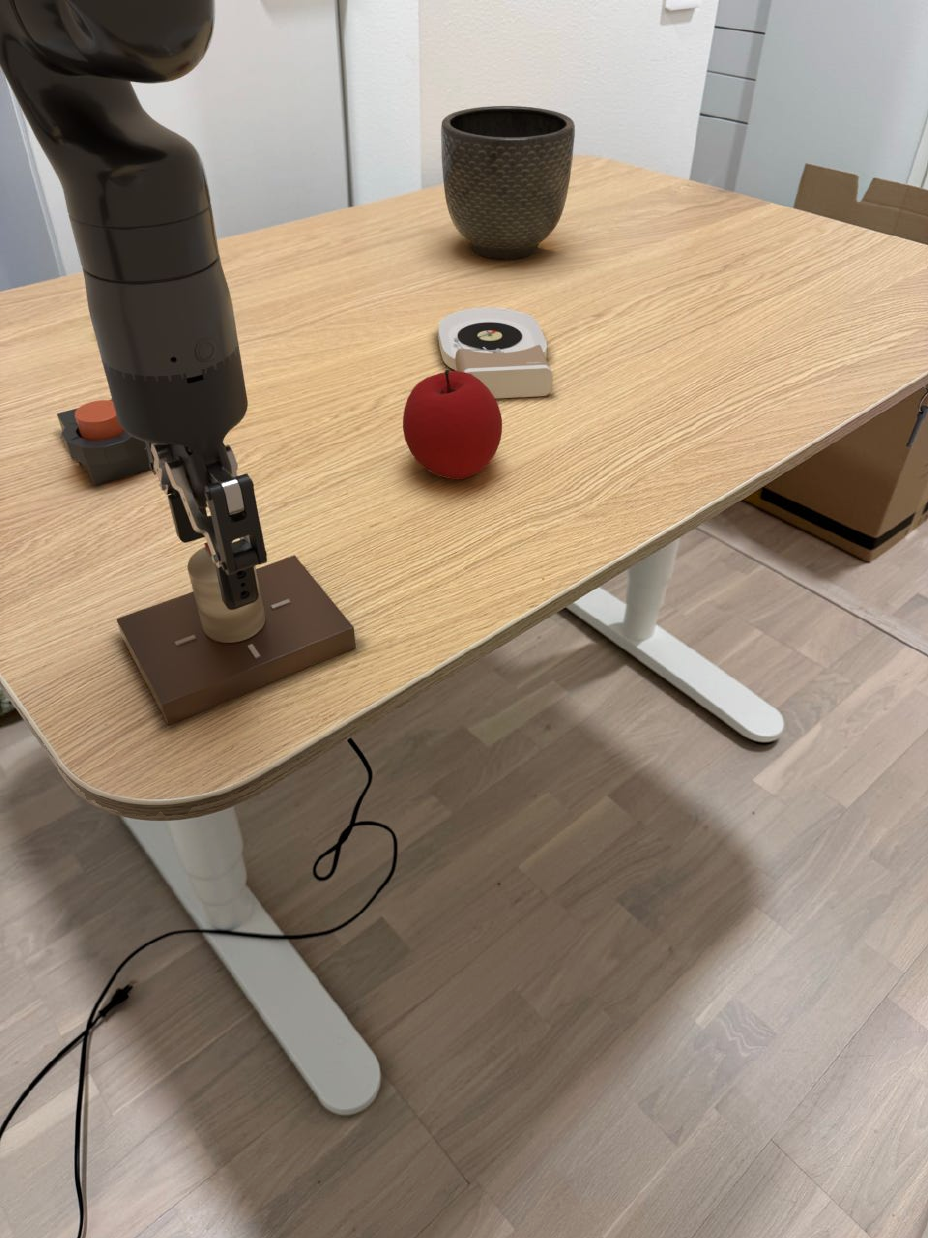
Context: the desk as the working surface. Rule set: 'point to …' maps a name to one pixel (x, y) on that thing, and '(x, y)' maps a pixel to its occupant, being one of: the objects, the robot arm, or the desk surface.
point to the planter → (506, 176)
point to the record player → (497, 350)
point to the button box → (103, 452)
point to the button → (98, 420)
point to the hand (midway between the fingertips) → (217, 569)
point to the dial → (221, 603)
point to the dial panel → (215, 671)
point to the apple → (452, 424)
